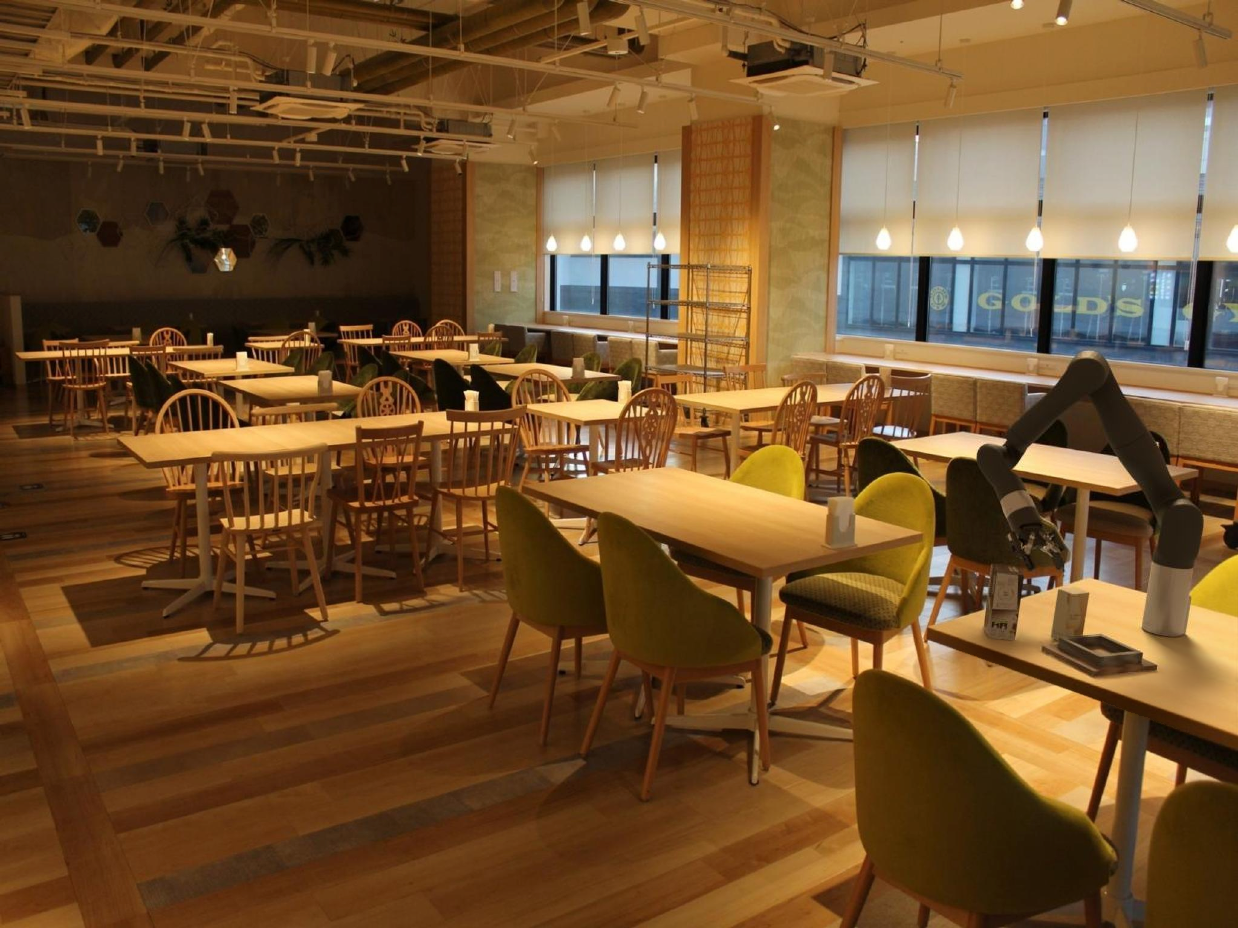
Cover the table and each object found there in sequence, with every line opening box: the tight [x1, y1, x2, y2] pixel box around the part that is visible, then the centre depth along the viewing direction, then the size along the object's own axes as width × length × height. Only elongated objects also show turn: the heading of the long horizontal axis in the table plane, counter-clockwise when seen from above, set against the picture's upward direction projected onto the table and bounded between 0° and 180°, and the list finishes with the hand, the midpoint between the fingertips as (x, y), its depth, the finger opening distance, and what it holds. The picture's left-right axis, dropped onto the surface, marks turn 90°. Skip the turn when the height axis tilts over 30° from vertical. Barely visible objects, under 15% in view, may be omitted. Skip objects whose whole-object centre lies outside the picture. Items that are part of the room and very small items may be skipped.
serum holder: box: [1041, 633, 1159, 678], centre depth 243 cm, size 18×16×4 cm
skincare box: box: [1050, 586, 1090, 641], centre depth 255 cm, size 6×4×12 cm
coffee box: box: [983, 563, 1025, 642], centre depth 256 cm, size 9×6×16 cm
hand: (1047, 569), depth 262 cm, fingers open, 8 cm apart
